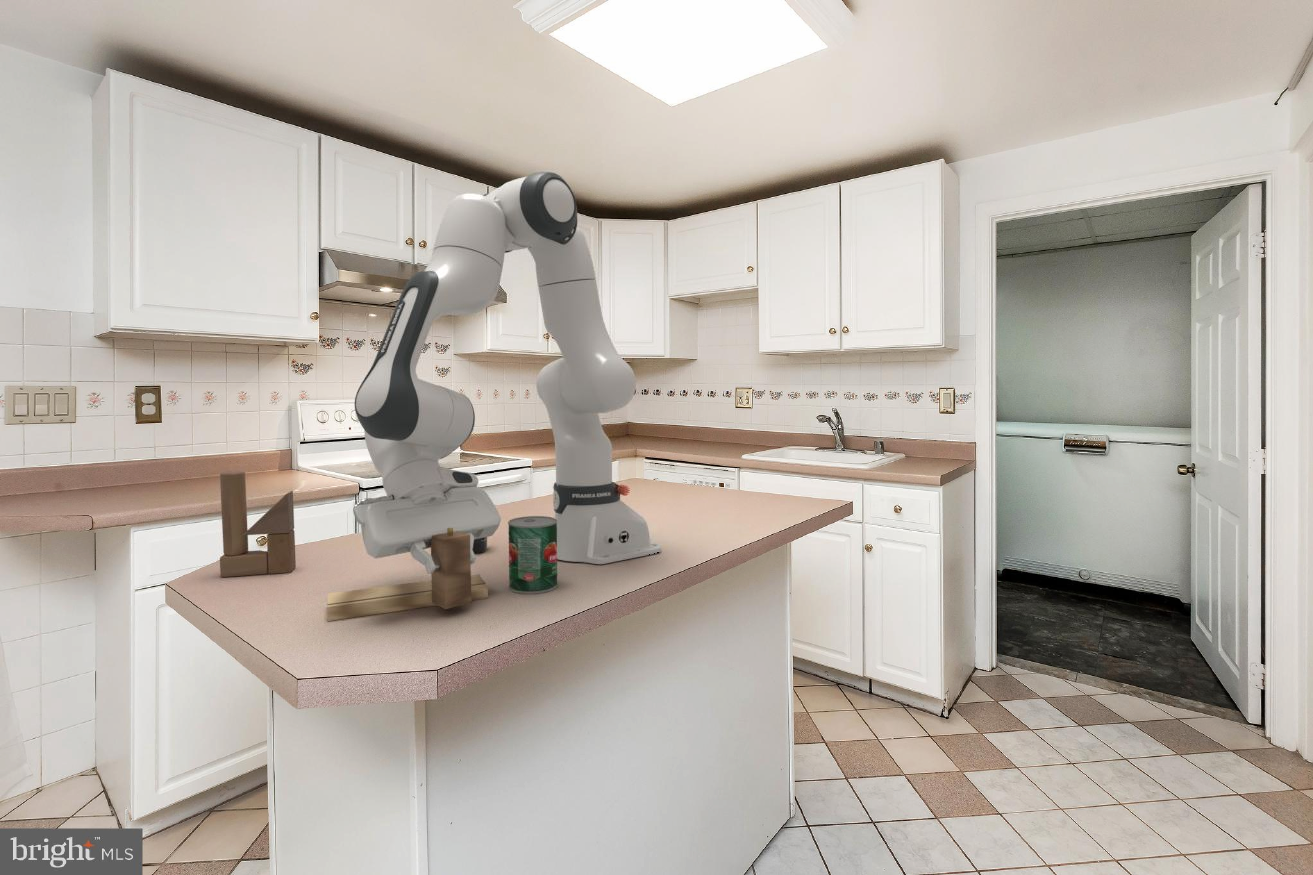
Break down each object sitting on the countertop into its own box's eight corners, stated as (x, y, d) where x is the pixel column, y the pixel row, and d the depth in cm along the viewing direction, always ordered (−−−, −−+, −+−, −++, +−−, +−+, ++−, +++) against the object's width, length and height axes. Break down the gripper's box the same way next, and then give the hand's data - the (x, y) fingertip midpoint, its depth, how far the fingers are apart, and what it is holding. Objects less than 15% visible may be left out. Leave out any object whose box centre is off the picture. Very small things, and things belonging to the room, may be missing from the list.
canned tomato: (564, 589, 100) (564, 522, 100) (517, 597, 96) (516, 527, 96) (548, 576, 107) (547, 514, 106) (503, 583, 103) (502, 518, 103)
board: (479, 586, 102) (478, 573, 102) (487, 597, 96) (487, 584, 96) (328, 606, 92) (327, 592, 91) (327, 621, 86) (327, 606, 86)
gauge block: (457, 595, 93) (455, 524, 92) (471, 602, 90) (469, 528, 89) (432, 602, 90) (430, 528, 89) (446, 609, 87) (444, 532, 86)
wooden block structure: (290, 573, 109) (287, 471, 107) (219, 578, 105) (215, 473, 104) (296, 567, 112) (292, 469, 111) (227, 572, 109) (223, 471, 108)
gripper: (355, 487, 86) (388, 570, 80) (484, 473, 101) (520, 542, 95) (343, 514, 89) (374, 595, 83) (470, 496, 104) (504, 564, 98)
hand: (453, 566), depth 89 cm, fingers closed on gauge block, 4 cm apart
